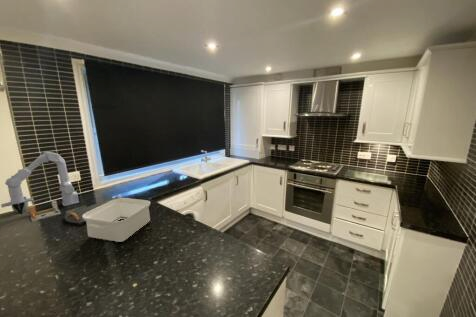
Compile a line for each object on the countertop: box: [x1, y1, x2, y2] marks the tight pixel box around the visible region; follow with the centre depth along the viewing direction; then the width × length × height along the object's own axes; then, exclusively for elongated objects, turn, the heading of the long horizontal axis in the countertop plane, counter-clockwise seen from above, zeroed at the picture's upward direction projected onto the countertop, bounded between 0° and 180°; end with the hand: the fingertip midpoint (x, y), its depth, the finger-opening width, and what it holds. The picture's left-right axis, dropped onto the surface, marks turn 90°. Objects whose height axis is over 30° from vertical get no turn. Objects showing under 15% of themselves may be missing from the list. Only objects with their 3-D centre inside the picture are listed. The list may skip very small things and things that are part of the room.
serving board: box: [64, 196, 122, 226], centre depth 142 cm, size 39×23×6 cm, turn 151°
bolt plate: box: [30, 209, 62, 222], centre depth 136 cm, size 14×8×1 cm, turn 139°
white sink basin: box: [82, 197, 151, 243], centre depth 118 cm, size 34×29×15 cm
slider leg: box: [28, 205, 37, 217], centre depth 134 cm, size 2×11×6 cm, turn 50°
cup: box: [9, 196, 29, 214], centre depth 141 cm, size 8×8×10 cm
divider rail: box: [30, 200, 59, 216], centre depth 138 cm, size 14×11×6 cm
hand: (20, 213), depth 132 cm, fingers closed
